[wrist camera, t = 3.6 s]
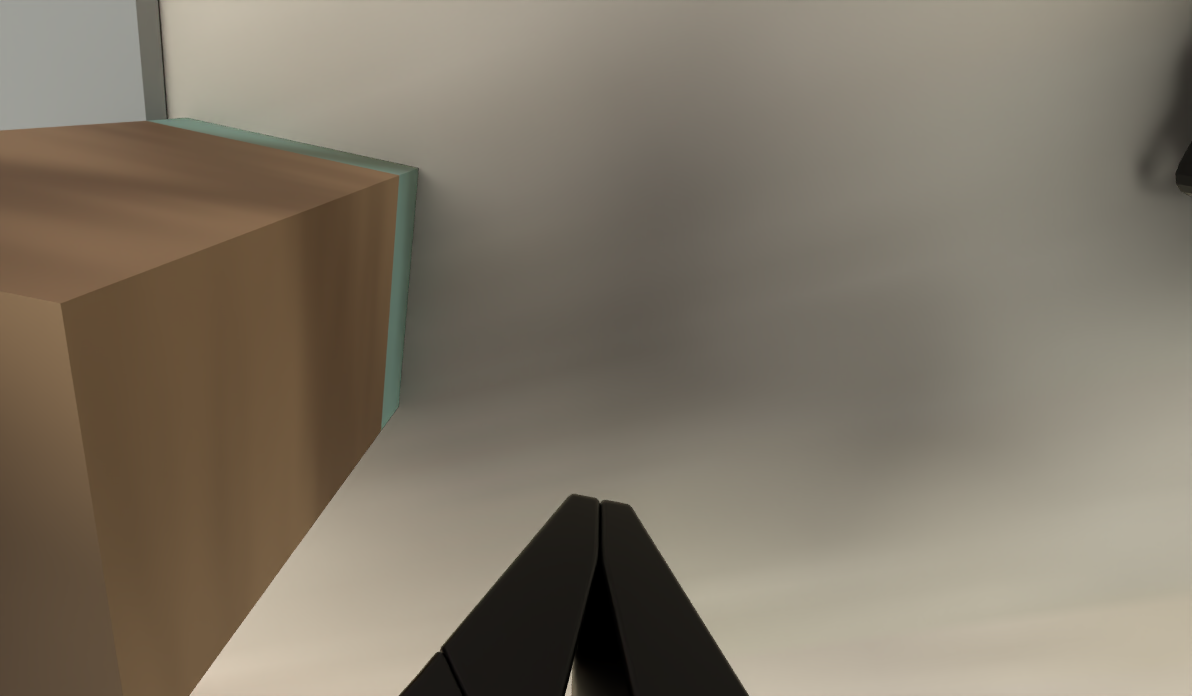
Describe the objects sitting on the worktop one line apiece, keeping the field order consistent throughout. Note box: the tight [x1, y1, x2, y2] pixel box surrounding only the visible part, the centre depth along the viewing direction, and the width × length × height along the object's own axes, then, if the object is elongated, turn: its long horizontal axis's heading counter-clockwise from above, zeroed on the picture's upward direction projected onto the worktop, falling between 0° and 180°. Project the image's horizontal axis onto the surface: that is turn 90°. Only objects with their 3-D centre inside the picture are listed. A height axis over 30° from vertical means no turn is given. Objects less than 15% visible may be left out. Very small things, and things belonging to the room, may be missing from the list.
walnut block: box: [0, 118, 419, 696], centre depth 10 cm, size 5×6×9 cm
